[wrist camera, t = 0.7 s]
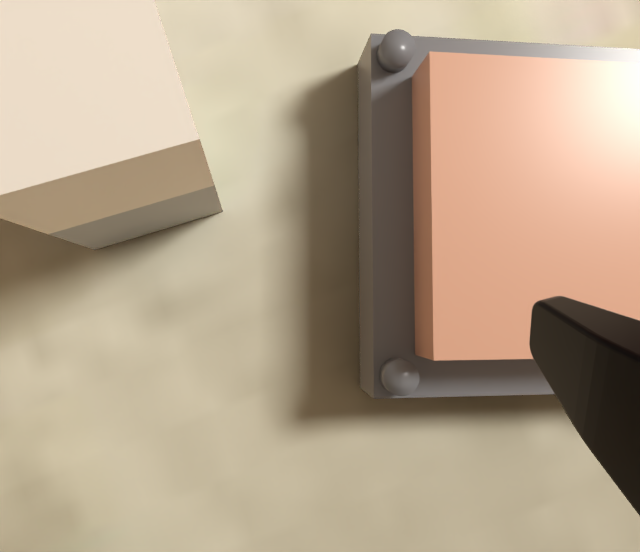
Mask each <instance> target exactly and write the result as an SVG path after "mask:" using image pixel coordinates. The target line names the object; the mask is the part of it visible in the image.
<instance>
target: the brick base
mask: <svg viewBox="0 0 640 552" xmlns="http://www.w3.org/2000/svg"><path fill="white" fill-rule="evenodd" d="M358 186H359V338H360V388H361V389H362V390H363V391H365V392H366V393H367V394H368V395H370V396H371V397H372V398H374V399H381V398H421V397H461V396H501V395H542V394H554V392H553V390H552V389H551V387H550V385H549V384H548V382H547V380H546V379H545V377H544V375H543V374H542V372H541V370H540V369H539V367H538V365H537V364H536V362H535V360H534V359H533V357H532V354H531V351H530V345H529V340H530V327H531V314H532V307H533V305H534V304H535V303H536V302H537V301H539V300H543V299H546V298H550V297H554V296H564V297H567V298H570V299H574V300H577V301H580V302H583V303H586V304H589V305H593V306H596V307H599V308H602V309H605V310H608V311H611V312H615V313H618V314H621V315H624V316H627V317H630V318H634V319H637V320H640V49H628V48H611V47H593V46H576V45H559V44H541V43H524V42H507V41H489V40H472V39H455V38H437V37H420V36H411V35H410V34H409V33H407V32H406V31H404V30H399V29H396V30H392V31H390V32H388V33H387V34H386V35H385V34H371V35H370V37H369V39H368V41H367V44H366V46H365V48H364V50H363V53H362V55H361V57H360V60H359V62H358Z"/></svg>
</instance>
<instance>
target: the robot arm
mask: <svg viewBox="0 0 640 552" xmlns="http://www.w3.org/2000/svg"><path fill="white" fill-rule="evenodd" d="M529 345H530V351H531V354H532V357H533V359H534V360H535V362H536V364H537V365H538V367H539V369H540V370H541V372H542V374H543V375H544V377H545V379H546V380H547V382H548V384H549V385H550V387H551V389H552V390H553V392H554V394H555V395H556V397H557V399H558V400H559V402H560V404H561V405H562V407H563V409H564V410H565V412H566V414H567V415H568V417H569V419H570V420H571V422H572V424H573V425H574V427H575V428H576V430H577V432H578V433H579V435H580V436H581V438H582V439H583V441H584V442H585V443H586V445H587V446H588V448H589V449H590V450H591V452H592V453H593V454H594V456H595V457H596V458H597V460H598V461H599V462H600V464H601V465H602V466H603V468H604V469H605V470H606V472H607V473H608V474H609V476H610V477H611V478H612V480H613V481H614V482H615V484H616V485H617V486H618V488H619V489H620V490H621V492H622V493H623V494H624V496H625V497H626V498H627V500H628V501H629V502H630V503H631V505H632V506H633V507H634V509H635V510H636V511H637V513H638V514H639V515H640V320H637V319H634V318H630V317H627V316H624V315H621V314H618V313H615V312H611V311H608V310H605V309H602V308H599V307H596V306H593V305H589V304H586V303H583V302H580V301H577V300H574V299H570V298H567V297H564V296H554V297H550V298H546V299H543V300H539V301H537V302H536V303H535V304H534V305H533V307H532V314H531V327H530V340H529Z"/></svg>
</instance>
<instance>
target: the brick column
mask: <svg viewBox="0 0 640 552" xmlns="http://www.w3.org/2000/svg"><path fill="white" fill-rule="evenodd" d="M219 212H223V210H222V207H221V204H220V201H219V198H218V195H217V192H216V188H215V185H214V182H213V179H212V176H211V173H210V170H209V167H208V164H207V160H206V157H205V154H204V151H203V148H202V145H201V142H200V139H199V136H198V133H197V129H196V126H195V123H194V120H193V117H192V114H191V111H190V108H189V105H188V102H187V99H186V96H185V92H184V89H183V86H182V83H181V80H180V77H179V74H178V71H177V68H176V65H175V62H174V59H173V55H172V52H171V49H170V46H169V43H168V40H167V37H166V34H165V31H164V28H163V25H162V22H161V18H160V15H159V12H158V9H157V6H156V3H155V0H0V218H1V219H4V220H7V221H10V222H13V223H16V224H19V225H22V226H25V227H27V228H30V229H33V230H36V231H39V232H42V233H45V234H48V235H51V236H54V237H57V238H60V239H63V240H66V241H69V242H72V243H75V244H78V245H81V246H84V247H87V248H90V249H93V250H96V249H100V248H103V247H106V246H109V245H113V244H116V243H119V242H123V241H126V240H129V239H133V238H136V237H139V236H143V235H146V234H149V233H153V232H156V231H159V230H163V229H166V228H169V227H173V226H176V225H179V224H183V223H186V222H189V221H193V220H196V219H199V218H203V217H206V216H209V215H213V214H216V213H219Z"/></svg>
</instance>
